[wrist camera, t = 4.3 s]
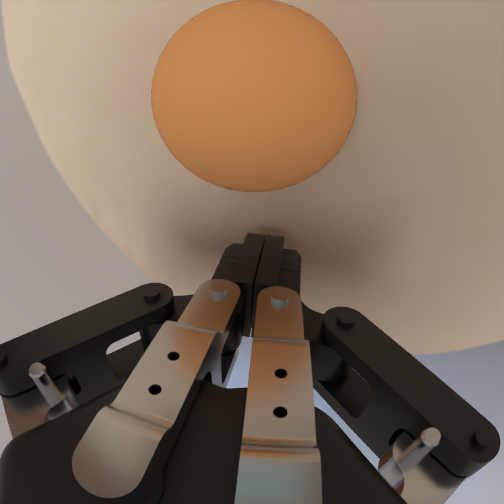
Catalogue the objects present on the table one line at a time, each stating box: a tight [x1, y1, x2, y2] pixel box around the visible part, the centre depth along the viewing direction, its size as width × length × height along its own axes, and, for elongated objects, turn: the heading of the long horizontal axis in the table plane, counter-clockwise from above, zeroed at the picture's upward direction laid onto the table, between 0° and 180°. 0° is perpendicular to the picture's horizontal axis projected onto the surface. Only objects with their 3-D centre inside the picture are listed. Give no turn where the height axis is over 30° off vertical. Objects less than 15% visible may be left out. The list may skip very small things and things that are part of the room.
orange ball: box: [151, 0, 357, 192], centre depth 8 cm, size 6×6×6 cm
